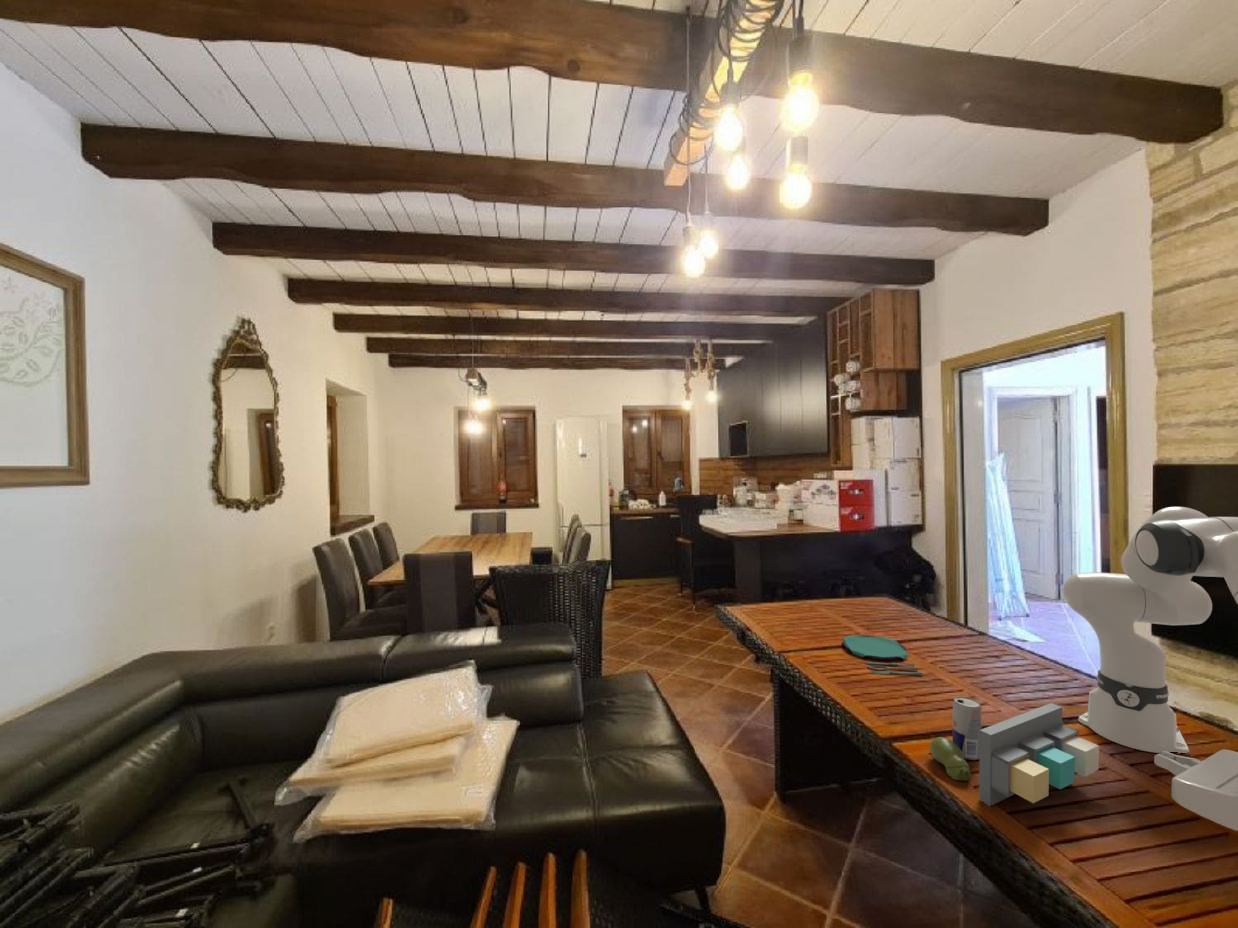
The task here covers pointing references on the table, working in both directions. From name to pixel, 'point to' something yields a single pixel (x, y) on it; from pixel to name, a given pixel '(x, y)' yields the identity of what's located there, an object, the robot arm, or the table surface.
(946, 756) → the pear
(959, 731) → the energy drink
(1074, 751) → the button cream
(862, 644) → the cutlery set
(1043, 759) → the button teal
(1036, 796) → the button mustard
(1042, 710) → the control panel
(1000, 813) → the table surface
